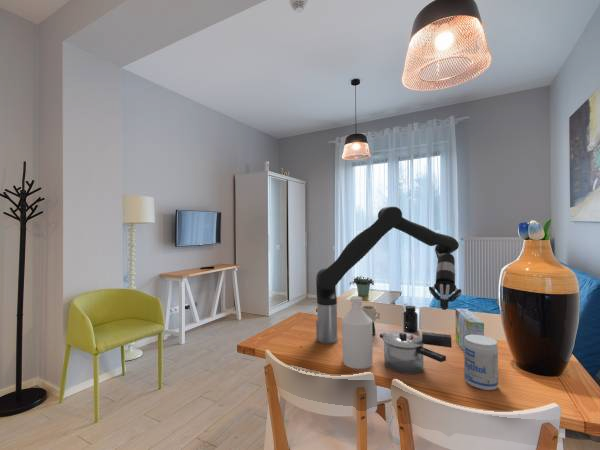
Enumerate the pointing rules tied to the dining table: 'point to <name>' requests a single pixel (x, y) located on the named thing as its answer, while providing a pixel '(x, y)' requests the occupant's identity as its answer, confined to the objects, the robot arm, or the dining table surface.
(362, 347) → the bottle
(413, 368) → the pot
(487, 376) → the supplement tub
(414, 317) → the supplement bottle
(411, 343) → the lid
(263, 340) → the dining table surface
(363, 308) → the character mug
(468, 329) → the snack box
